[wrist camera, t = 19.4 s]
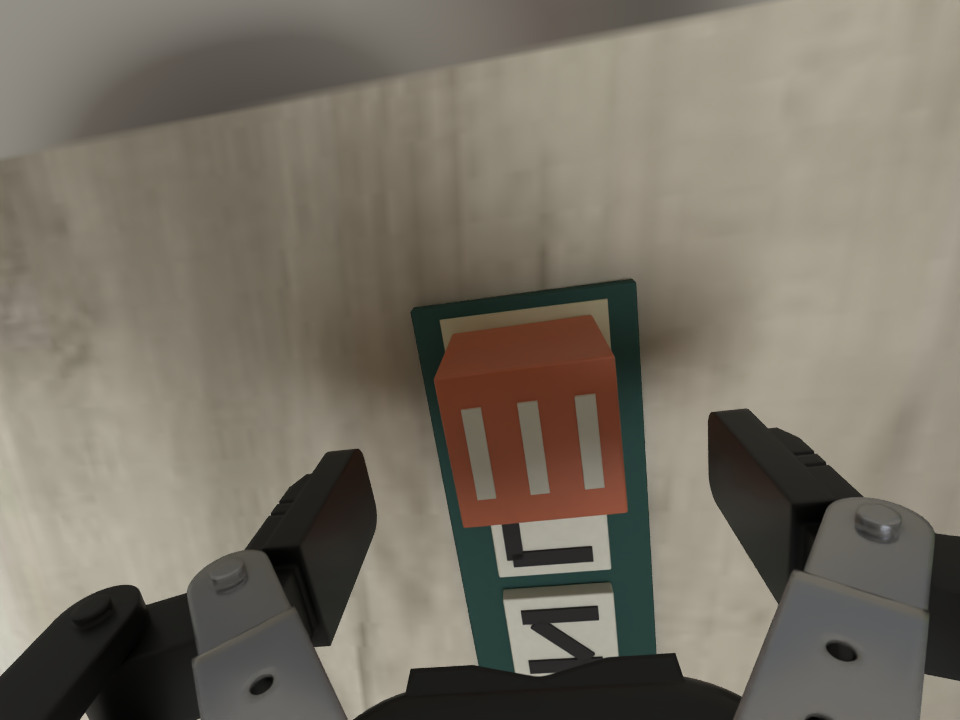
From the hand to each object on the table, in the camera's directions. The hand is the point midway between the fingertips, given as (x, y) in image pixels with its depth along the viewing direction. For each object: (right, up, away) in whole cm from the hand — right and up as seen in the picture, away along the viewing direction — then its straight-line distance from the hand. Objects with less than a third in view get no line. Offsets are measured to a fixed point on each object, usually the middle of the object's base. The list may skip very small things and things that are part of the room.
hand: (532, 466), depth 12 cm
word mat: (+1, -4, +7) cm, 8 cm away
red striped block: (0, +1, +5) cm, 5 cm away
